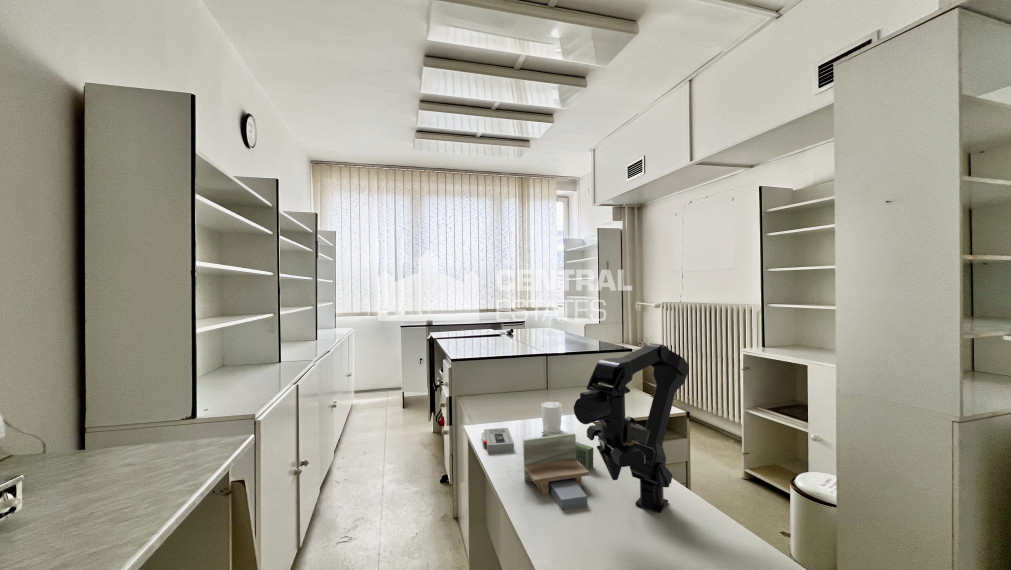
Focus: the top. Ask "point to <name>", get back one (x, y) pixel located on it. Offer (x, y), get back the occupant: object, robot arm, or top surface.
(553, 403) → the white cup
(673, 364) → the robot arm
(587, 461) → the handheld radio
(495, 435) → the cassette player
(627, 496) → the top surface
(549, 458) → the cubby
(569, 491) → the grey chamfered block
